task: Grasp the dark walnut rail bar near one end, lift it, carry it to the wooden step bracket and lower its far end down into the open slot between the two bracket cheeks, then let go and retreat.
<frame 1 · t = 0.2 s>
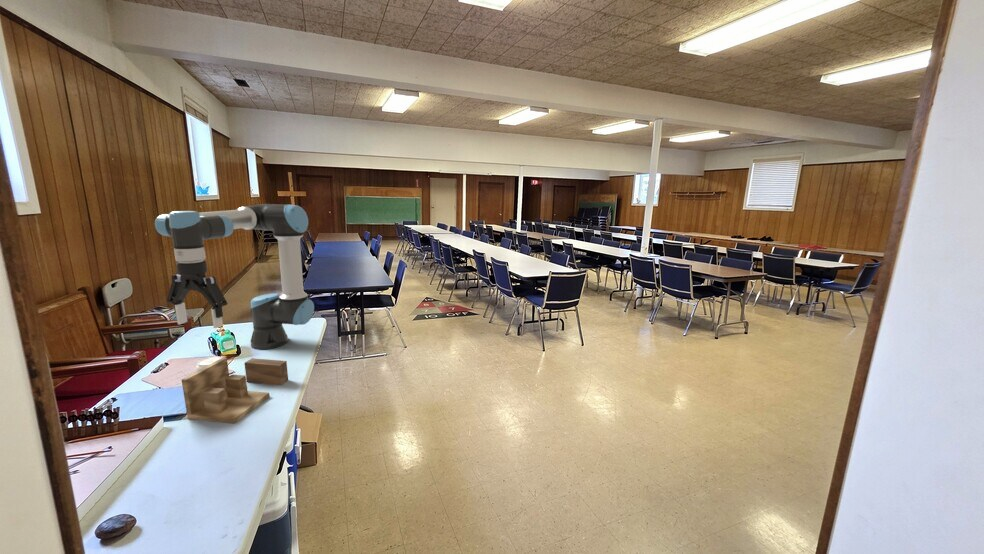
hand: (200, 325, 123), 27 cm above the table, fingers open, 13 cm apart
wooden step bracket: (242, 407, 126), on the table
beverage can: (214, 391, 135), on the table
rail: (267, 381, 144), on the table
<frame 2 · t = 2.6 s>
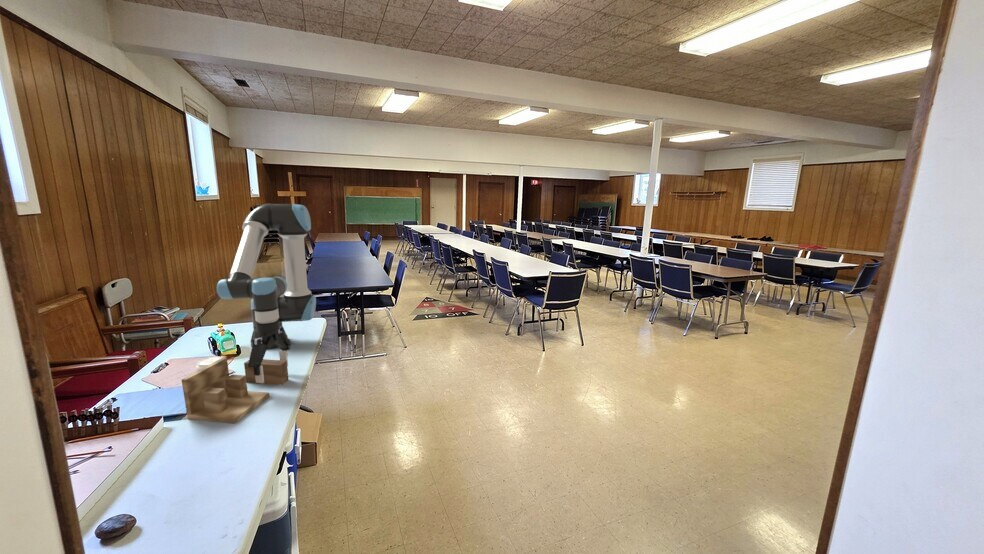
hand: (272, 374, 142), 3 cm above the table, fingers open, 13 cm apart
nothing on the table moved.
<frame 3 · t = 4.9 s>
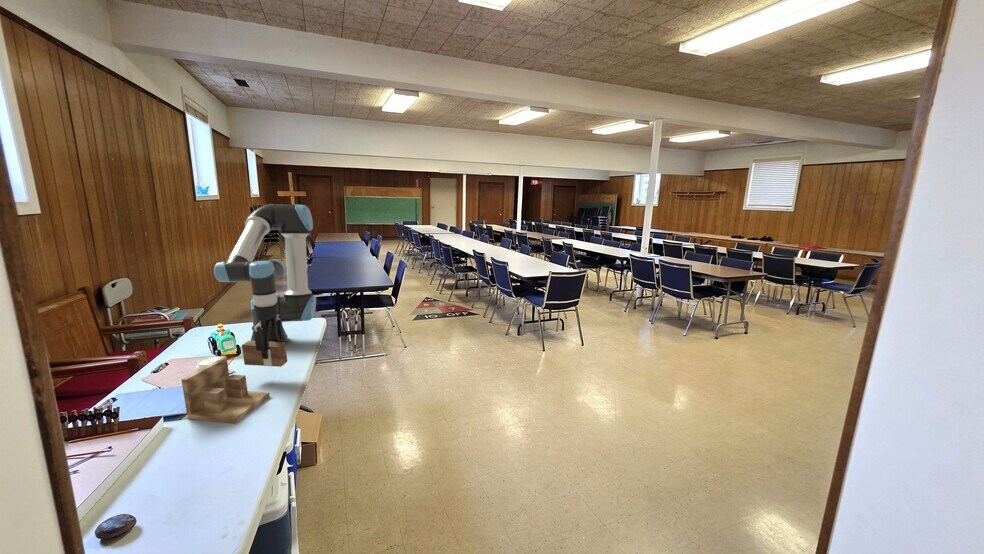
hand: (272, 362, 142), 7 cm above the table, fingers closed on rail, 4 cm apart
rail: (266, 363, 142), point 7 cm above the table, touching gripper
everything else where it was.
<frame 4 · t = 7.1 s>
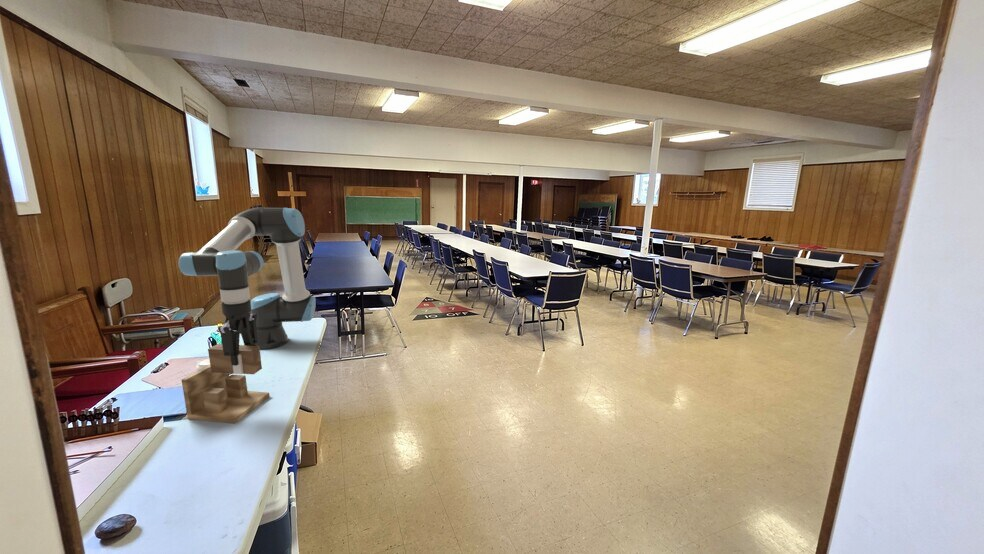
hand: (244, 369, 122), 14 cm above the table, fingers closed on rail, 4 cm apart
rail: (237, 370, 122), point 14 cm above the table, touching gripper
everything else where it was.
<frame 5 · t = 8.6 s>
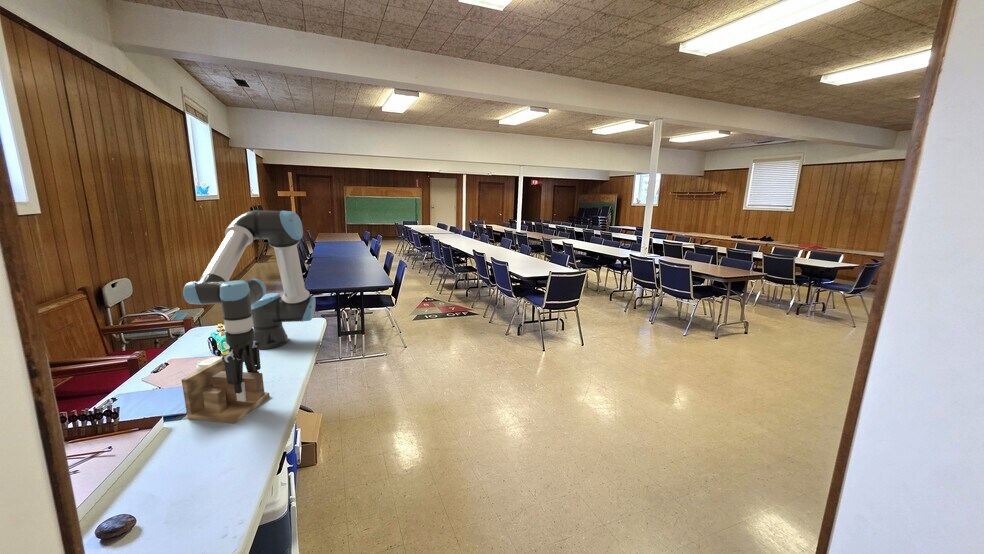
hand: (247, 396, 124), 5 cm above the table, fingers closed on rail, 4 cm apart
rail: (240, 397, 124), point 4 cm above the table, touching gripper
everything else where it was.
when the fingers open (2 cm above the table, at t = 9.8 s): rail stays where it is, resting on wooden step bracket.
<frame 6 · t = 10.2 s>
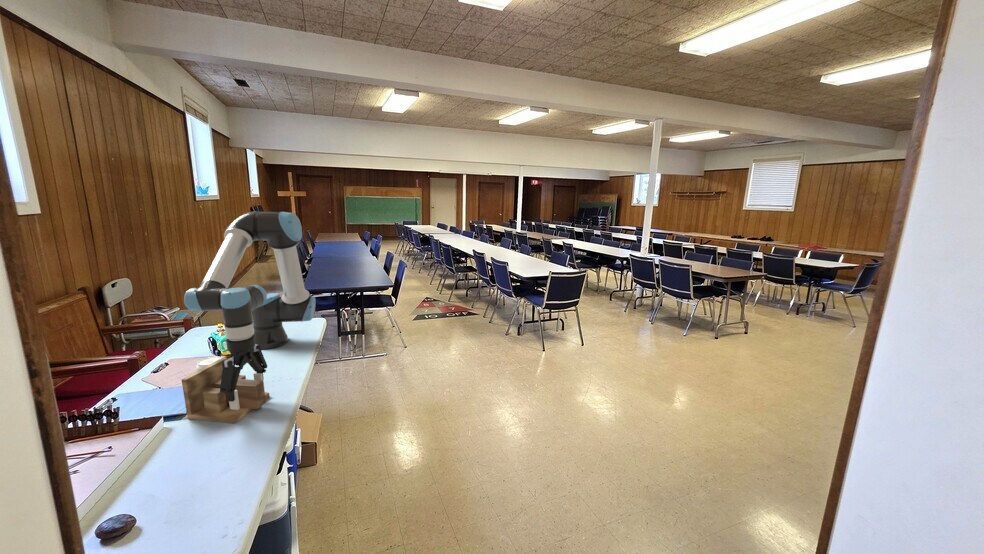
hand: (247, 399, 125), 3 cm above the table, fingers open, 10 cm apart
rail: (241, 404, 125), point 1 cm above the table, touching wooden step bracket
everything else where it was.
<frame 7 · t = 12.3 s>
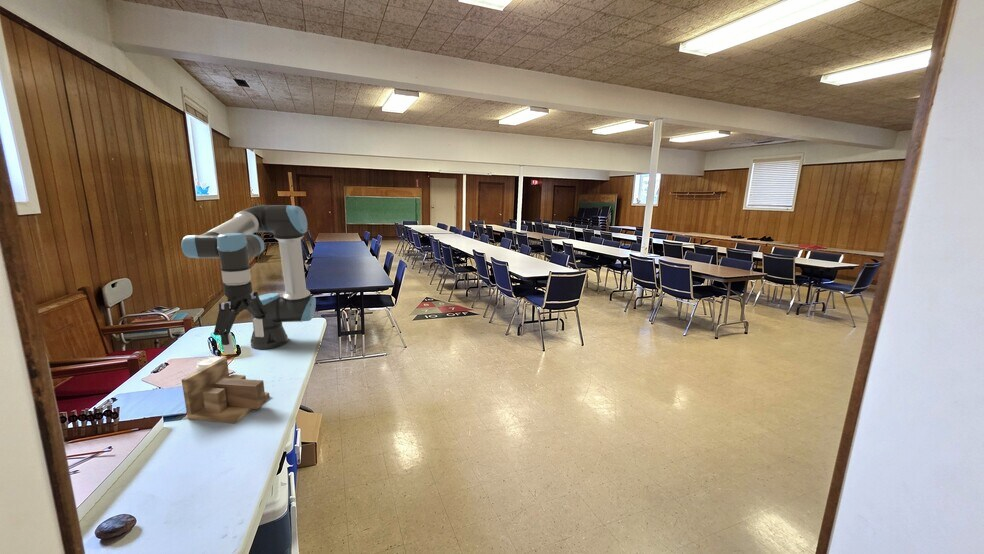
hand: (245, 344, 125), 21 cm above the table, fingers open, 13 cm apart
nothing on the table moved.
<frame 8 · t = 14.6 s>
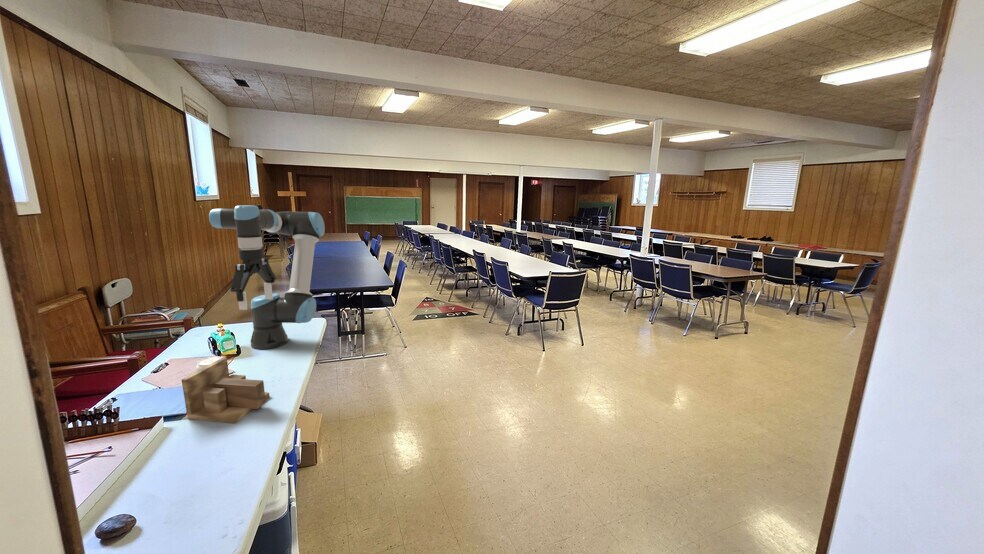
hand: (256, 304, 143), 29 cm above the table, fingers open, 13 cm apart
nothing on the table moved.
at the end: rail 0.1 cm off-centre on the wooden step bracket, point 1.5 cm above the wooden step bracket's base; rail tilted 0°; the gripper is holding nothing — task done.
